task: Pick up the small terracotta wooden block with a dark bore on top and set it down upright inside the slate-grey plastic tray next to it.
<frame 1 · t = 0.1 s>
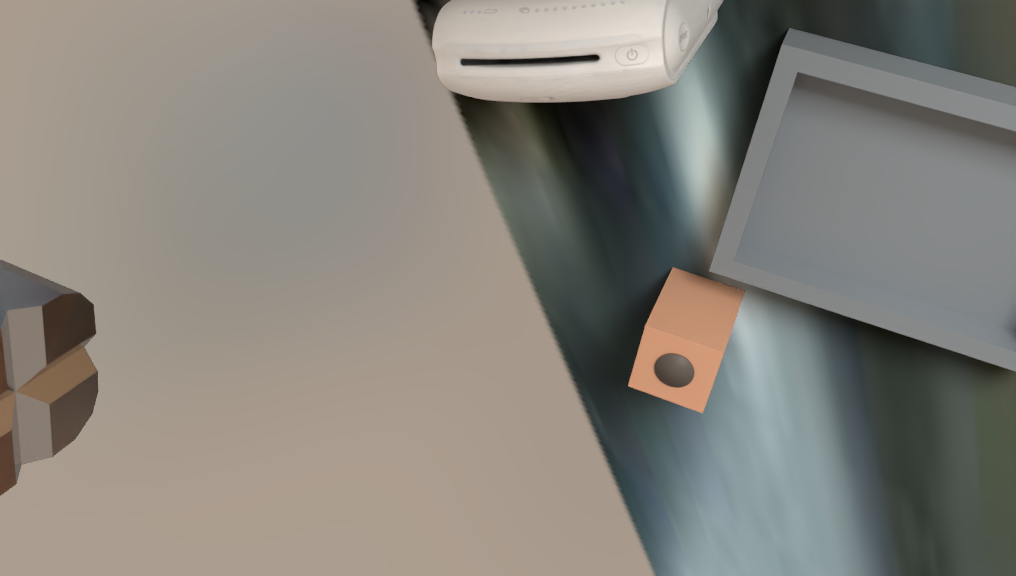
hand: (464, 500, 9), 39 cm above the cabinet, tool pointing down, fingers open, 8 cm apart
terracotta block: (698, 308, 52), on the cabinet
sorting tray: (917, 195, 45), on the cabinet
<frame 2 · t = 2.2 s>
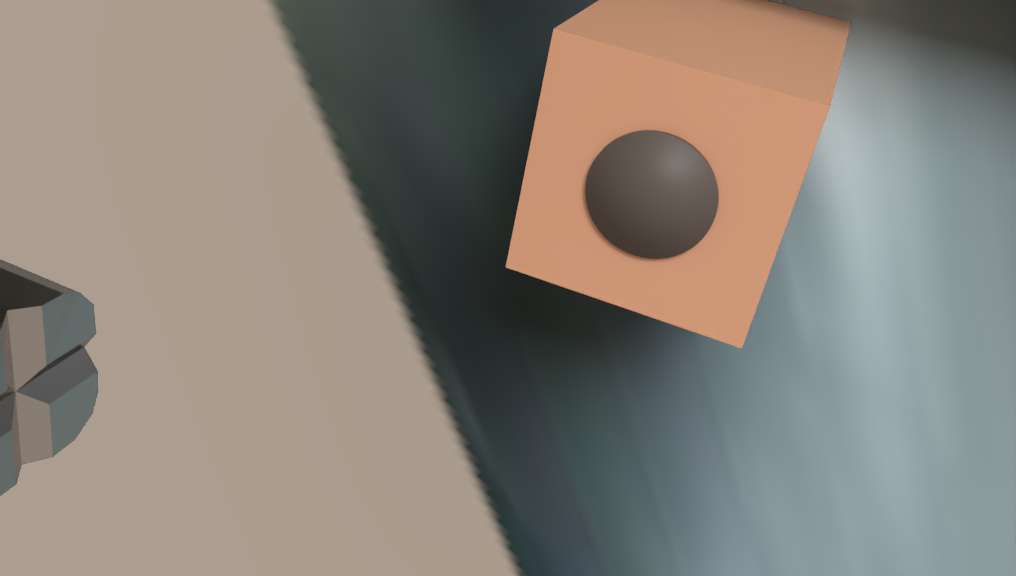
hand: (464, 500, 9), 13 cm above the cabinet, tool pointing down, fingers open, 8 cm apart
terracotta block: (717, 93, 19), on the cabinet
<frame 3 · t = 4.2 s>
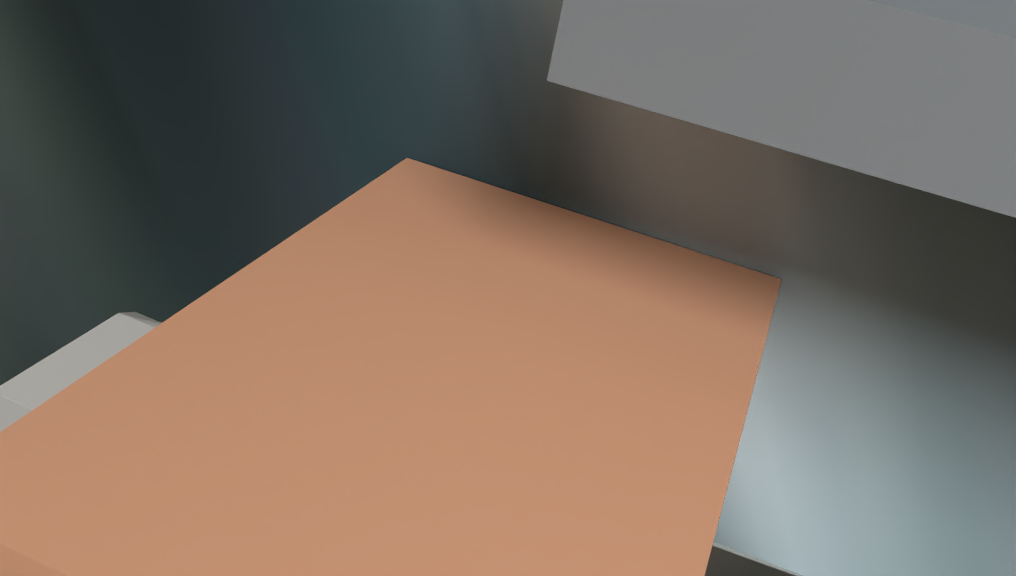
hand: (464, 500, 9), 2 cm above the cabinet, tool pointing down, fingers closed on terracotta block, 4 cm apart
terracotta block: (545, 376, 11), on the cabinet, touching gripper
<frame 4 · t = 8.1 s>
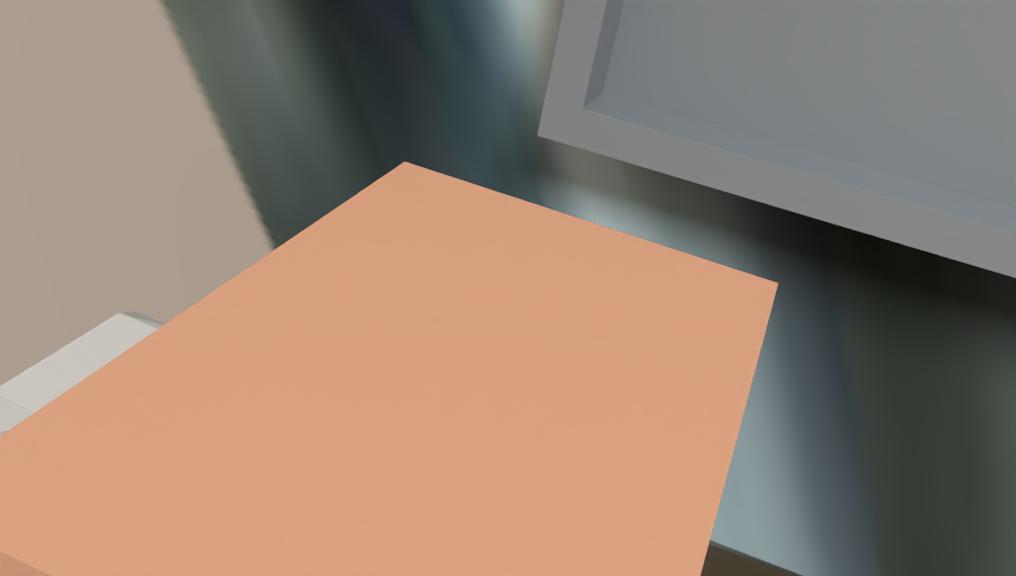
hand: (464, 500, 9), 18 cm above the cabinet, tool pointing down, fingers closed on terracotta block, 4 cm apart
terracotta block: (543, 379, 11), point 16 cm above the cabinet, touching gripper
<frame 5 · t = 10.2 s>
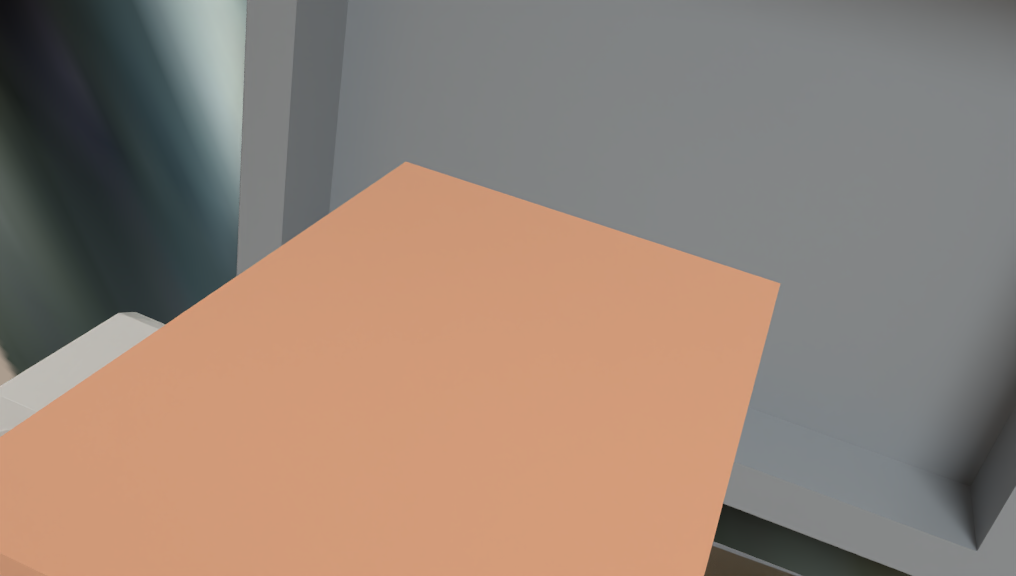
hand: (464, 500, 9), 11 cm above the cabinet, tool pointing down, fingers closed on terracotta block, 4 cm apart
terracotta block: (544, 380, 11), point 9 cm above the cabinet, touching gripper
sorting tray: (693, 129, 18), on the cabinet
when the fingers open (4 cm above the cabinet, at t = 12.2 s): terracotta block drops 1 cm, resting on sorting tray.
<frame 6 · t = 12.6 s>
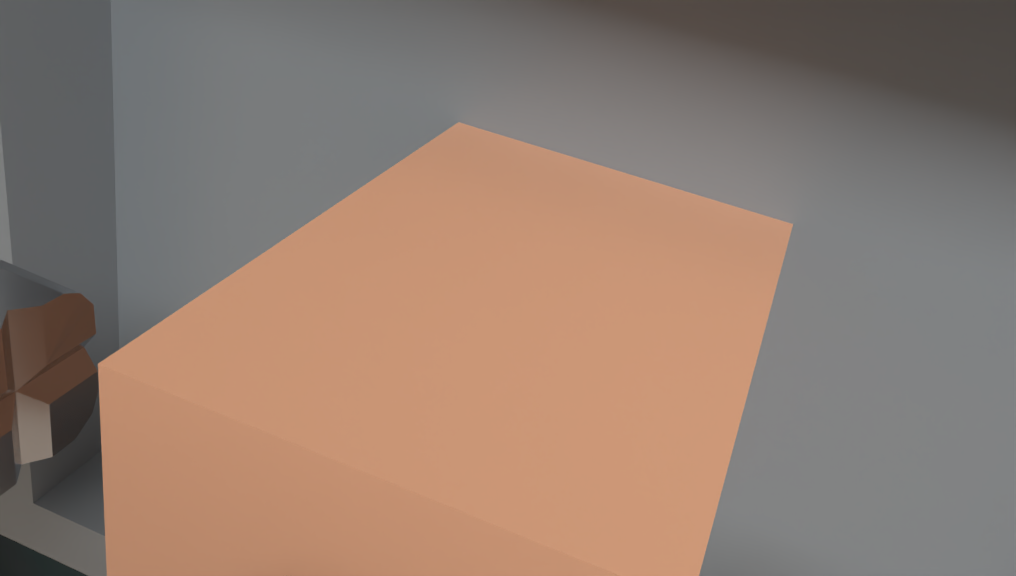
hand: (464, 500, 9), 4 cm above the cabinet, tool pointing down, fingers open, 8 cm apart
terracotta block: (581, 319, 12), point 1 cm above the cabinet, touching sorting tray
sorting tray: (596, 299, 12), on the cabinet
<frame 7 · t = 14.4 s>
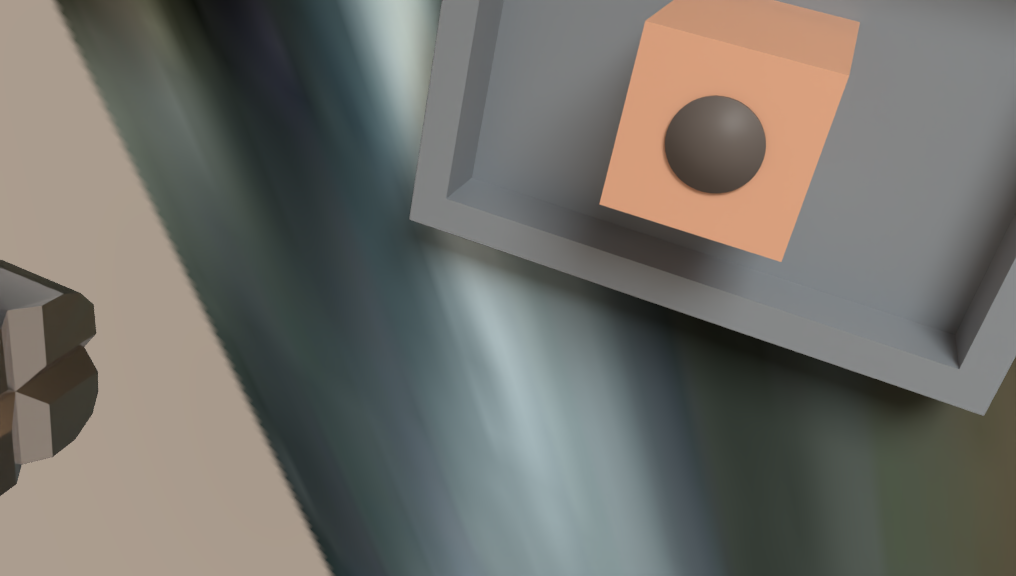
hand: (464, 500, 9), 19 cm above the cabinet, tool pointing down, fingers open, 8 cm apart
terracotta block: (753, 79, 24), point 1 cm above the cabinet, touching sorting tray
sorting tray: (757, 75, 25), on the cabinet
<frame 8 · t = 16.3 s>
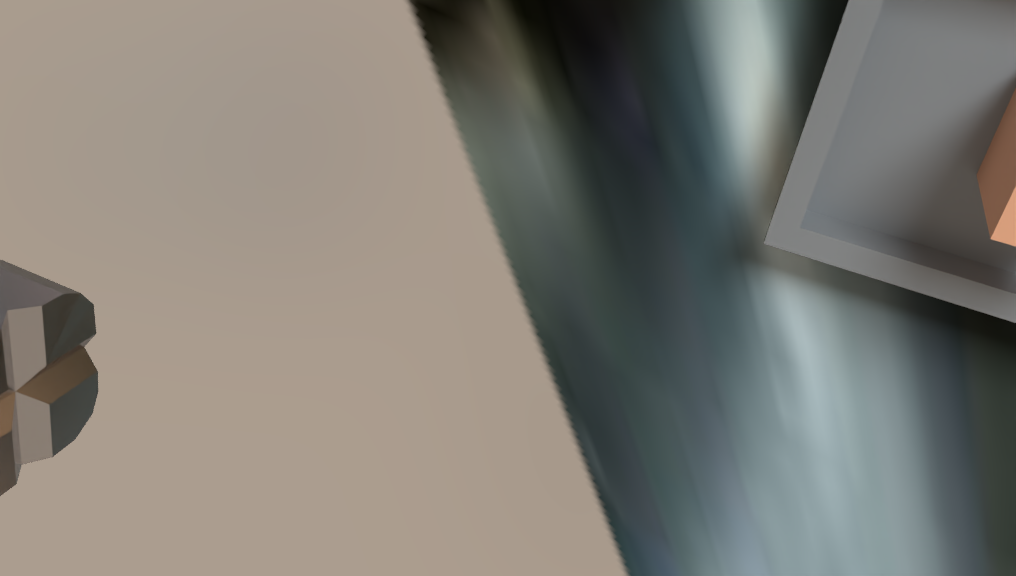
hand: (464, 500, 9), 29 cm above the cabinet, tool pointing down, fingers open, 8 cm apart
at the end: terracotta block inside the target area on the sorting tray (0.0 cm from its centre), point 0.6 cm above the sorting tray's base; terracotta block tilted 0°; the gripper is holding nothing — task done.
